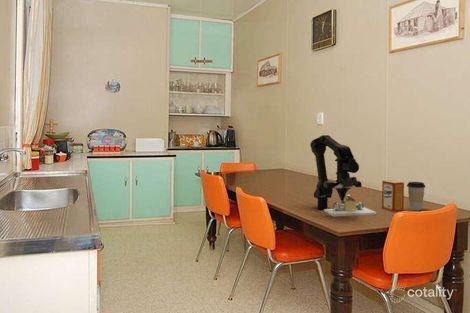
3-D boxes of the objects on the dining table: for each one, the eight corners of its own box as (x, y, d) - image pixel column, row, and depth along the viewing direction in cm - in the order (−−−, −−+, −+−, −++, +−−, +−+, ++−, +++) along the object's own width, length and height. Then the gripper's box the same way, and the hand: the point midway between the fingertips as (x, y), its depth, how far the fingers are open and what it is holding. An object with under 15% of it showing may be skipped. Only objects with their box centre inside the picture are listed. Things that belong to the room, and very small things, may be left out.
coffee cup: (428, 211, 221) (429, 183, 220) (412, 211, 220) (413, 184, 218) (418, 207, 230) (418, 181, 229) (402, 208, 229) (403, 181, 228)
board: (323, 211, 223) (323, 209, 223) (364, 209, 227) (364, 207, 227) (333, 216, 210) (333, 214, 210) (376, 214, 214) (376, 212, 214)
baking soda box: (381, 208, 229) (382, 180, 228) (391, 207, 232) (392, 179, 230) (393, 211, 221) (394, 182, 219) (403, 210, 223) (404, 181, 221)
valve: (336, 211, 216) (336, 200, 215) (332, 209, 221) (332, 198, 221) (364, 210, 218) (364, 199, 218) (359, 208, 224) (360, 197, 223)
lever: (344, 198, 221) (344, 194, 220) (350, 197, 221) (350, 194, 221) (353, 202, 209) (353, 198, 209) (359, 201, 210) (359, 198, 210)
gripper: (331, 173, 200) (331, 204, 201) (366, 172, 203) (366, 203, 204) (323, 170, 211) (322, 200, 212) (356, 169, 214) (356, 198, 215)
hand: (342, 200), depth 211 cm, fingers closed
